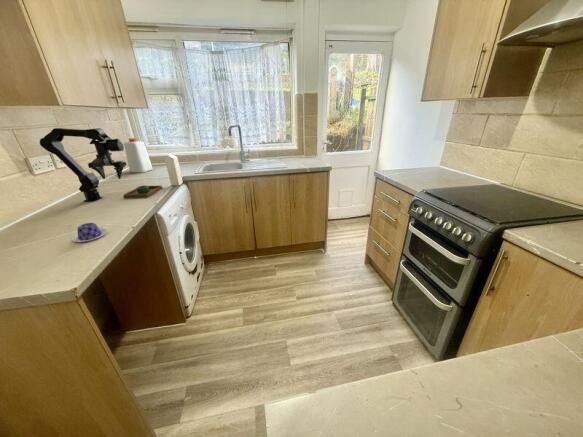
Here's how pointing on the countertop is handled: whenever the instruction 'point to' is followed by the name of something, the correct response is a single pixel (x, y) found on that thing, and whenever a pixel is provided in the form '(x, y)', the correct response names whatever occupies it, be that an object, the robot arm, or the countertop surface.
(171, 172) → the milk
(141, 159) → the plastic bottle
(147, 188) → the ring
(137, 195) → the tray
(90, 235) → the checkered hat
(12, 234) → the countertop surface
